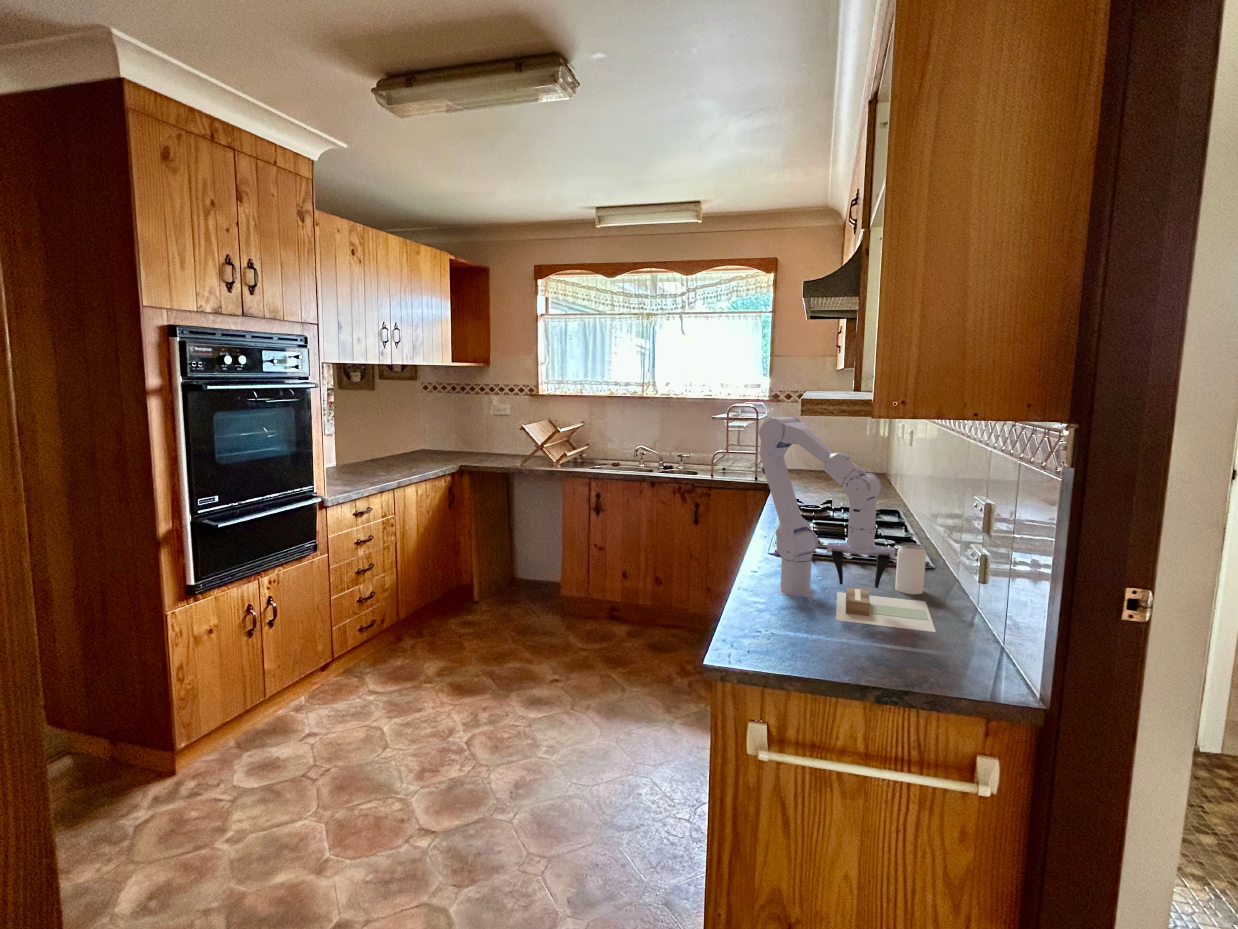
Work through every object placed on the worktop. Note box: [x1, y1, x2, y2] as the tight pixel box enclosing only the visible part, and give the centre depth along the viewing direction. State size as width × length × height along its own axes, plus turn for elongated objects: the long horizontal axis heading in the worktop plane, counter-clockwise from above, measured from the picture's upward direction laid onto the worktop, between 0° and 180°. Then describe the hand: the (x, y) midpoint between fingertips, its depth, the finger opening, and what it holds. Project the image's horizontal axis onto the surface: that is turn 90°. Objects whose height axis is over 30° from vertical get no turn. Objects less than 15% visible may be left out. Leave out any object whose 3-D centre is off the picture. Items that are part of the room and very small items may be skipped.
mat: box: [835, 591, 936, 633], centre depth 152 cm, size 20×20×1 cm
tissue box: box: [845, 586, 870, 616], centre depth 153 cm, size 10×5×3 cm, turn 161°
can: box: [894, 542, 927, 595], centre depth 165 cm, size 6×6×12 cm
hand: (858, 585), depth 153 cm, fingers open, 7 cm apart
